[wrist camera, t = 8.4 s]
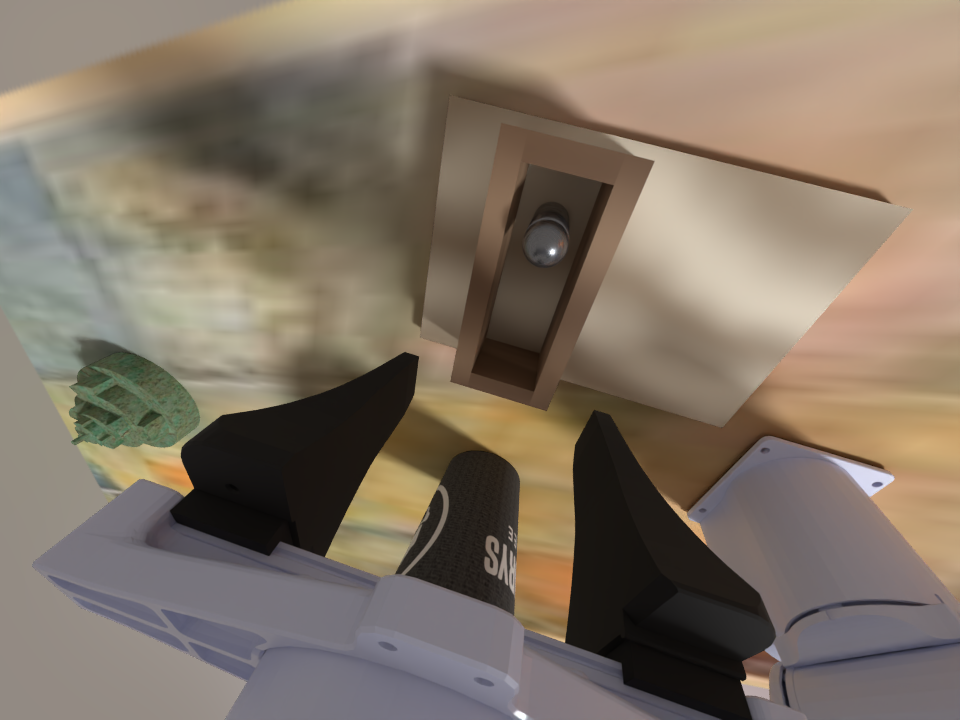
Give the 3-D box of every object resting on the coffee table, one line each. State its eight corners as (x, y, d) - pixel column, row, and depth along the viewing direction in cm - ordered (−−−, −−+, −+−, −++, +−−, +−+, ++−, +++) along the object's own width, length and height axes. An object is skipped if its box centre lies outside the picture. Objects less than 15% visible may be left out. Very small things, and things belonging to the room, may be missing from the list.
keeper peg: (561, 243, 18) (559, 279, 13) (528, 234, 18) (513, 266, 13) (574, 207, 17) (576, 231, 12) (538, 197, 17) (527, 218, 12)
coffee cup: (482, 521, 34) (432, 737, 22) (412, 462, 31) (310, 669, 19) (560, 491, 29) (554, 748, 17) (485, 420, 27) (412, 659, 14)
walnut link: (550, 370, 22) (546, 411, 18) (468, 346, 22) (450, 381, 19) (636, 156, 15) (654, 161, 12) (515, 127, 15) (501, 122, 12)
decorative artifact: (168, 355, 31) (87, 347, 33) (77, 404, 25) (-14, 390, 27) (217, 435, 37) (145, 424, 39) (151, 490, 31) (70, 473, 33)
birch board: (716, 417, 22) (722, 427, 21) (425, 330, 23) (420, 337, 23) (894, 205, 15) (913, 209, 14) (455, 97, 16) (449, 95, 15)
